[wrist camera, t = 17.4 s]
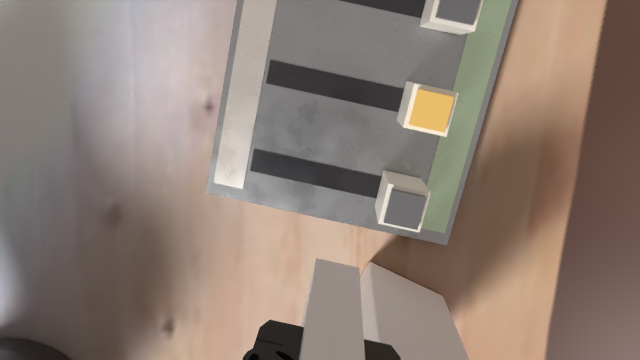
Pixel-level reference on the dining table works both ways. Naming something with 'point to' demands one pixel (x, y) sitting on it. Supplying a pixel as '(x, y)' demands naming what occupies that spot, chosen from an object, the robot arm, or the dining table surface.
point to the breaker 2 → (451, 15)
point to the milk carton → (407, 317)
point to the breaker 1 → (401, 201)
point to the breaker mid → (426, 108)
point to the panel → (349, 106)
